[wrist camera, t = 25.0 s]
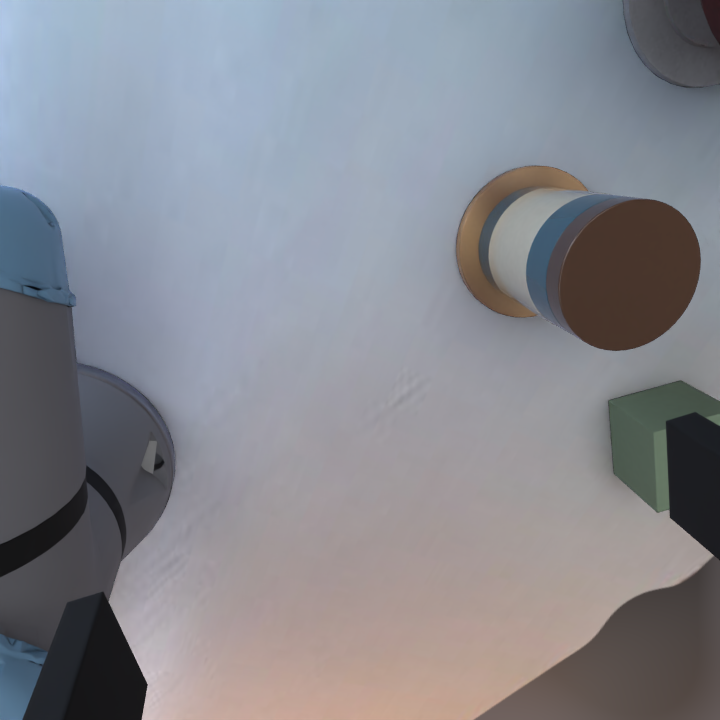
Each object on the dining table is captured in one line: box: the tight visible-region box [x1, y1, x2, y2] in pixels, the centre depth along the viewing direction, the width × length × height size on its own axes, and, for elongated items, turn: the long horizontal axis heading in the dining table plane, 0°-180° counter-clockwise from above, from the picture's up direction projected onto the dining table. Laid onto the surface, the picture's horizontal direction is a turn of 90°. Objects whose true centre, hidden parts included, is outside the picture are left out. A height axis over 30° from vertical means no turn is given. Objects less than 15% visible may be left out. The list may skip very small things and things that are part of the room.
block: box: [609, 381, 720, 513], centre depth 48 cm, size 7×6×6 cm
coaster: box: [456, 166, 588, 317], centre depth 43 cm, size 11×11×1 cm
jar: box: [478, 186, 701, 351], centre depth 37 cm, size 14×8×14 cm
